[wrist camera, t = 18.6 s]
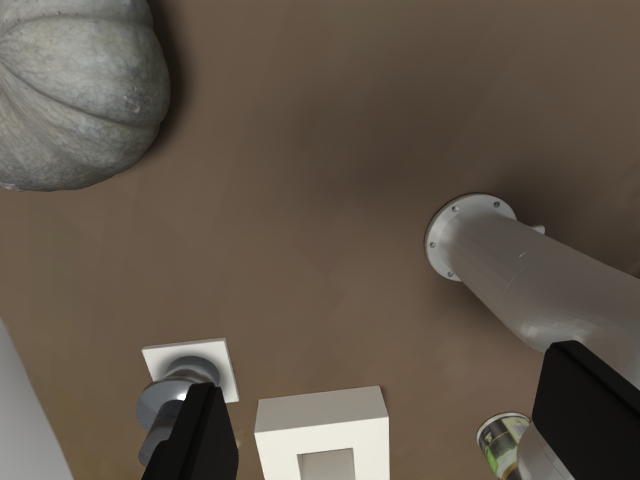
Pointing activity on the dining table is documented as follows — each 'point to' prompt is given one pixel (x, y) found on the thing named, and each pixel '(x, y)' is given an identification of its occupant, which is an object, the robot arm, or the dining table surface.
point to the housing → (324, 435)
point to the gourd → (77, 91)
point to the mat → (207, 349)
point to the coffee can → (503, 443)
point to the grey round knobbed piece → (170, 399)
